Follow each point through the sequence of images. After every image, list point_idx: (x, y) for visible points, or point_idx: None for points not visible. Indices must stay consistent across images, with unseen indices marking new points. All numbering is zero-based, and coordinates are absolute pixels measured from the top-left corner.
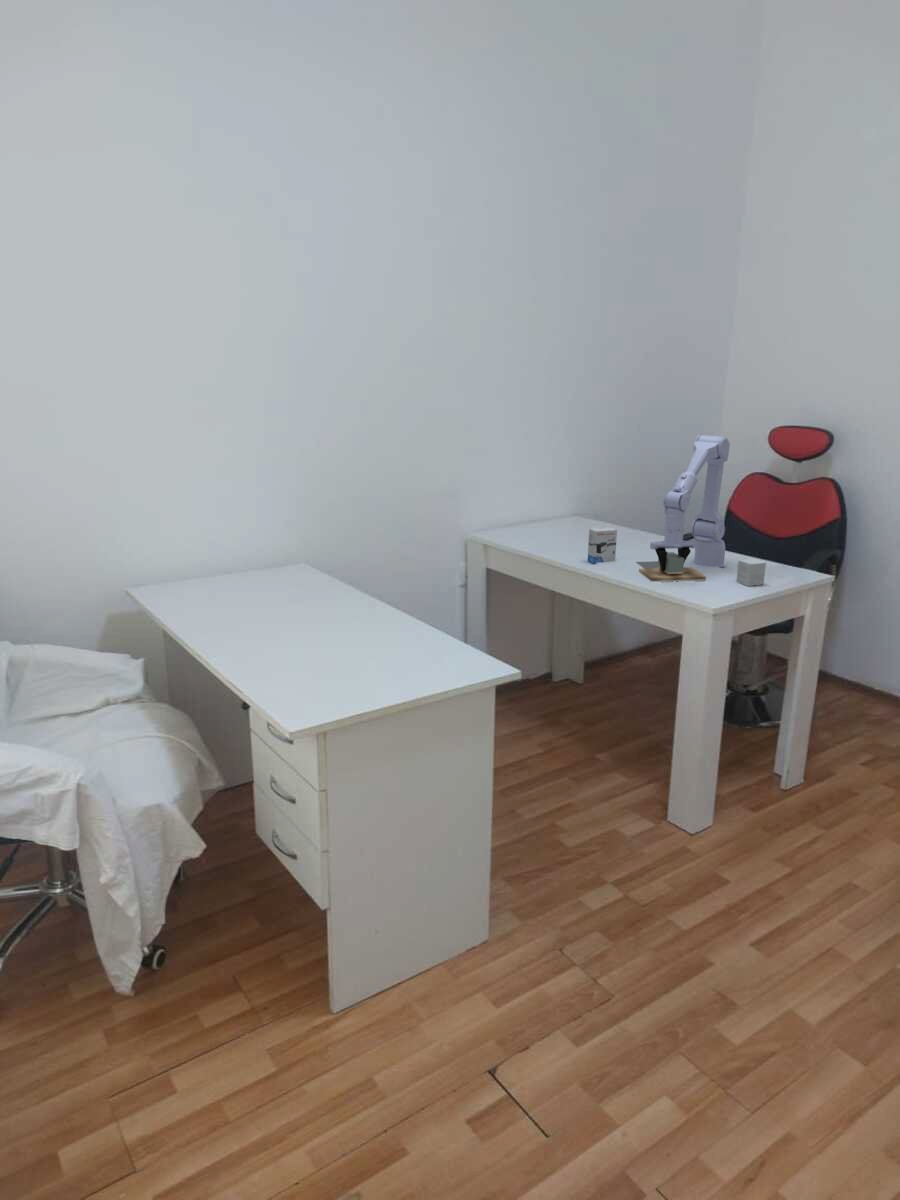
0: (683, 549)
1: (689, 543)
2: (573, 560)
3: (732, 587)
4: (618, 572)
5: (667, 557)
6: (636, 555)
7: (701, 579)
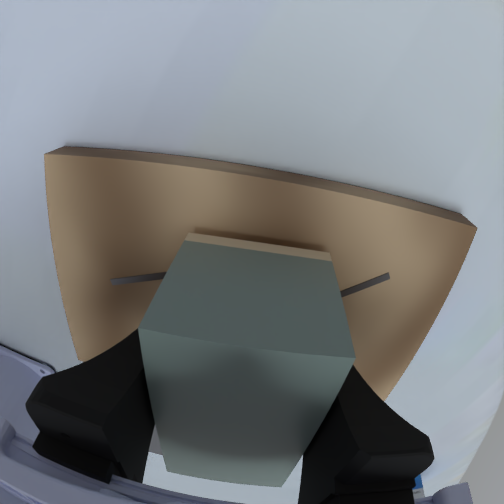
0: (102, 452)
1: (12, 482)
2: (427, 483)
3: (3, 5)
4: (437, 406)
5: (325, 405)
6: (224, 497)
7: (81, 150)
